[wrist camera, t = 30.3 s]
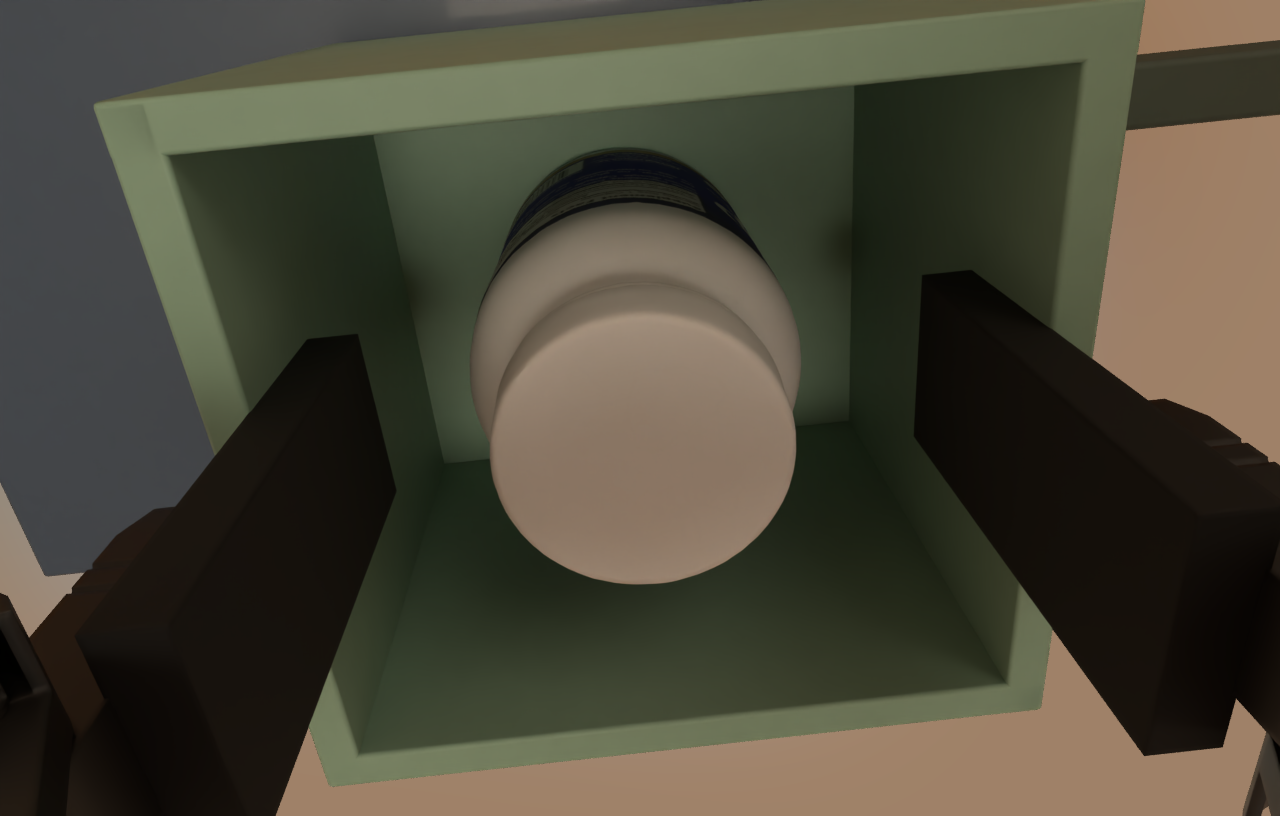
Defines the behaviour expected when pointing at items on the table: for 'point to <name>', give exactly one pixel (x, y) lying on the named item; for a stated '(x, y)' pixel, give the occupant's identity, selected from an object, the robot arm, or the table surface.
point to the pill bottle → (635, 372)
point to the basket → (794, 250)
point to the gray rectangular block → (133, 240)
